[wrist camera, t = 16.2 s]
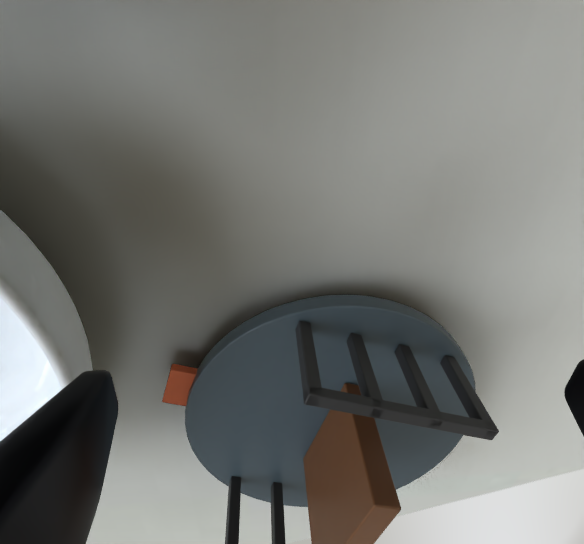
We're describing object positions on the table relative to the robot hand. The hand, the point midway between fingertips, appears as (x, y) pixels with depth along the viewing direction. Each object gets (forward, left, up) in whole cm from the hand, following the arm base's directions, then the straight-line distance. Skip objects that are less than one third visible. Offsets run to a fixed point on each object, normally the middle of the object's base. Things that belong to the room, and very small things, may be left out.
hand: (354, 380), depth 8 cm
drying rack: (+5, -12, -10) cm, 17 cm away
